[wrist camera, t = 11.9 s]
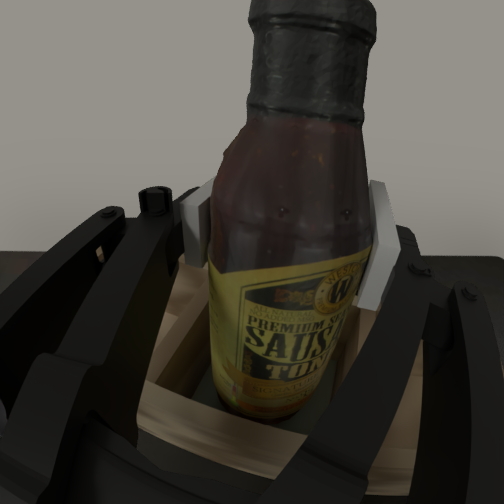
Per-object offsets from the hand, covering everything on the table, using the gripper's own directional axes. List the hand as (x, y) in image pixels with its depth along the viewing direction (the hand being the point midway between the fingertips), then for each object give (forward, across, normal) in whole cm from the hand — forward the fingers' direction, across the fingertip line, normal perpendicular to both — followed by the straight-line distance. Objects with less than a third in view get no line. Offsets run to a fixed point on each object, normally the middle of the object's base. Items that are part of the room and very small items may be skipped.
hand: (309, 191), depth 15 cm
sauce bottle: (-5, 0, -11) cm, 12 cm away
